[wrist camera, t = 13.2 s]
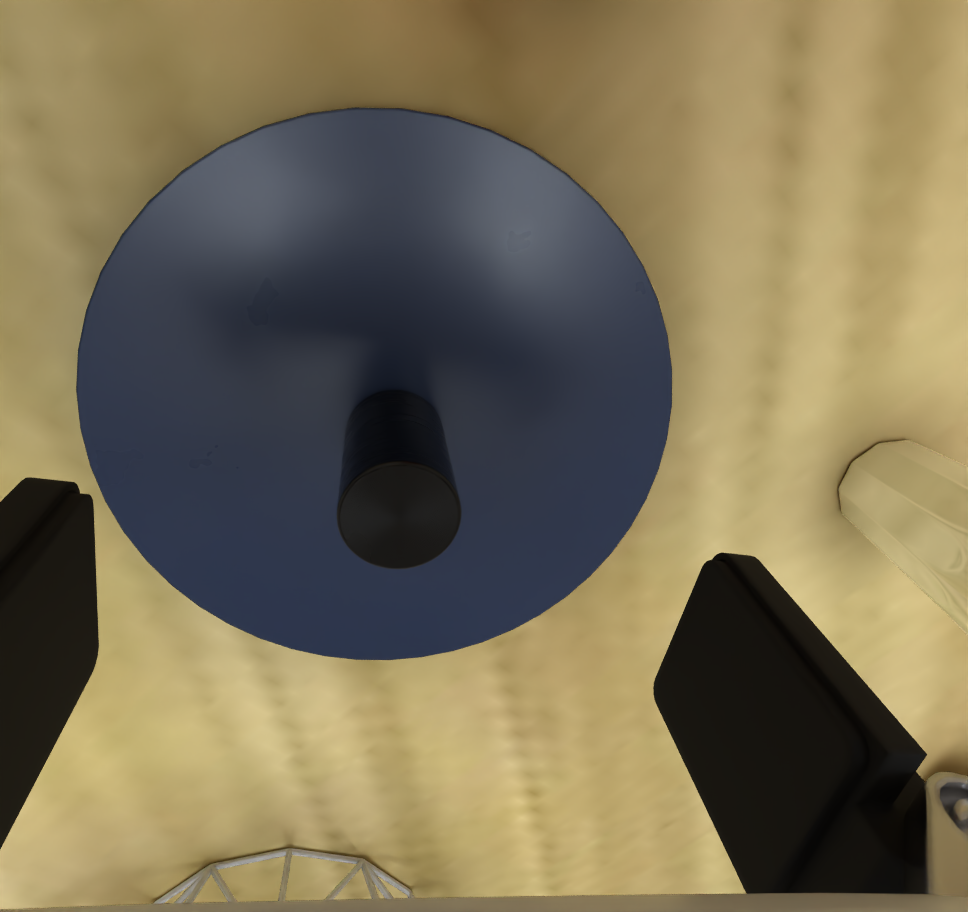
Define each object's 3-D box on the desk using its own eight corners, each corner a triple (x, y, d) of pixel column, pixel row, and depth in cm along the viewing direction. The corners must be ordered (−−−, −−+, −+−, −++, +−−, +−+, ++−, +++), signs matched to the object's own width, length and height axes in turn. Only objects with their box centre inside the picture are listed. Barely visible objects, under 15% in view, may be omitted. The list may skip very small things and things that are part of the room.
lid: (-46, 242, 15) (-249, 288, 10) (588, 11, 15) (690, -53, 10) (261, 698, 22) (227, 859, 17) (698, 542, 22) (791, 657, 17)
